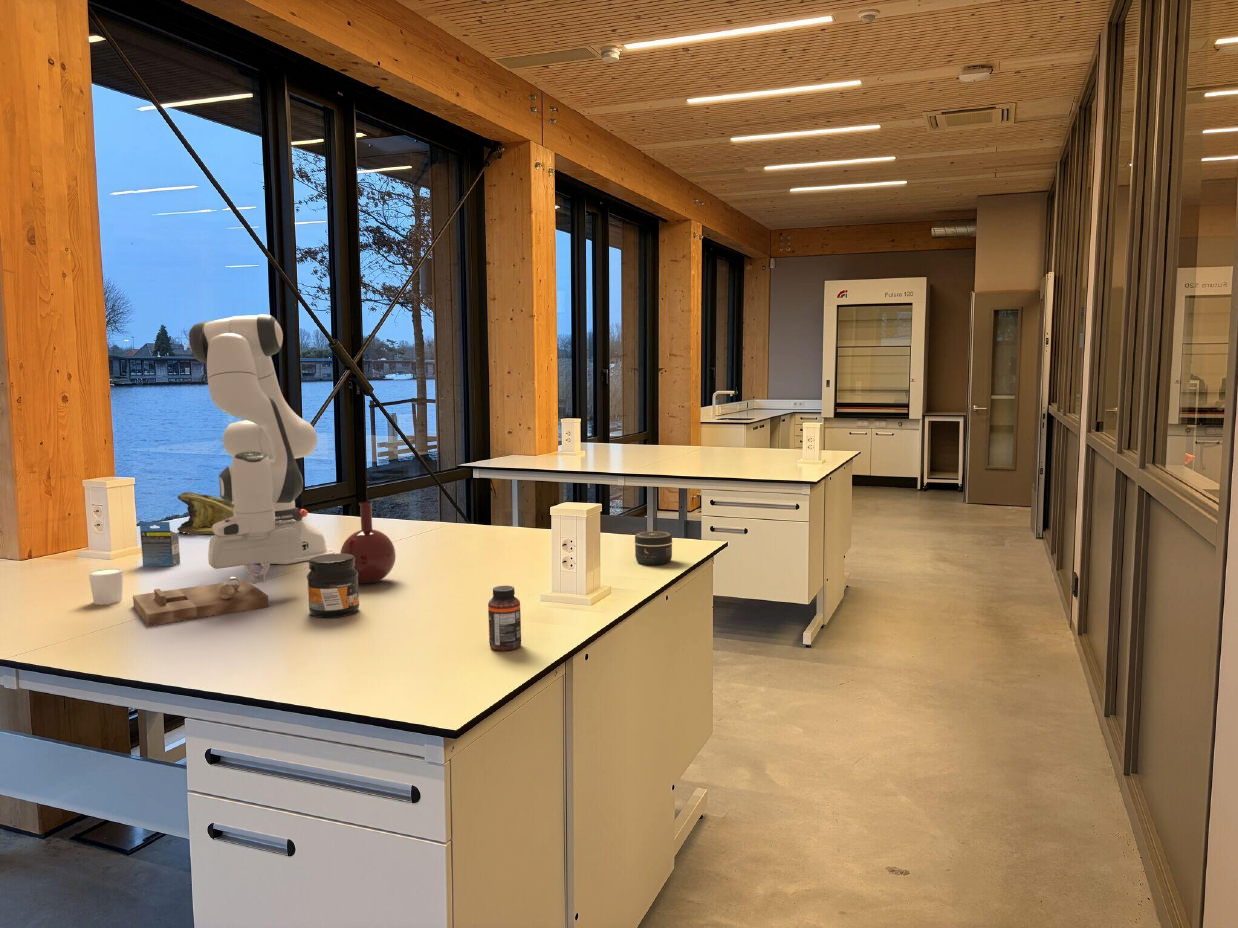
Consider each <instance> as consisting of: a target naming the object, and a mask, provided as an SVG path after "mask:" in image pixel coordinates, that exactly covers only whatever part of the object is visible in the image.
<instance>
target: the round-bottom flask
mask: <svg viewBox="0 0 1238 928" xmlns="http://www.w3.org/2000/svg"><path fill="white" fill-rule="evenodd" d="M358 504H359V506H360V507H359V508H360V530H358V531H355V532H353V533H352V534H351V535H349V536H348V537H347V539H345V541H344V542H343V544H342V545H341V549H340V553H339V554H351V555H353V556H355V566H354V567H355V568H356V569H357V571H358V583H360V584H373V583H376V582H379V581H381V580H383V579H384V578H386V577H387V576H388V575H389V574H390V572H391V571H392V570H393V568H394V565H395V564H396V563H395V562H396V556H397V555H396V548H395V545H394V543H393V542H392V540H391V538H390V537H388V535H386V534H385V533H383V532H382V531H379V530H376V529H373V516H372V515H373V513H372V512H373V511H372V505H373V501H366V500H365V501H360V502H358Z"/></svg>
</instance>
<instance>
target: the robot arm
mask: <svg viewBox="0 0 1238 928" xmlns="http://www.w3.org/2000/svg"><path fill="white" fill-rule="evenodd" d="M278 322H279V321H278V320H277V319H276V318H275V317H274V316H272V315H270V314H263V313H262V314H259V313H258V314H257V315H235V316H234V315H233V316H231V317H226V318H220V319H215V320H211V321H206V320H204V321H201V322H198V323H195V324H193V325H192V327H191V328H190V330H189V332H188V346H189V349H190V351H191V353H192V356H193V358H195V359H196V360H197V361H198V362H201V363H202V364H205V365H206V374H207V375H206V376H207V385H208V390H209V396H210V399H211V401H212V403H213V404H214V405H215V406H216V408H218V409H219V410H220V411H222V412H224V413H226V414H228V415H229V416H232V417H235V418H239V419H242V420H239V421H236V422H232V423H229V424H228V425H227V426H226V428H225V430H224V431H223V435H222V444H223V448H224V450H225V451H226V453H227V454H228V455H229V456H230V457H232V462H231V465H229V466H227V467H225V468H224V469H223V470H222V471H221V472H220V474H218V478H219V498H222V499H223V500H225V501H226V502H227V503H229V504H233V505H234V509H233V516H232V517H230V518H228V519H225V520H223V521H220V522H218V523H215V524H214V525H213V526H212V531H213V533H214V535H211V537H210V540H209V543H208V544H209V545H208V553H207V554H208V555H207V557H208V558H207V559H208V564H209V565H210V567H212V568H213V569H214V570H218V569H226V568H227V569H228V568H234V567H242V566H244V569H245V570H246V572H247V573H248V575H249V576H250V583H251V584H258V583H265V582H266V578H267V577H266V575H267V573H268V571H269V570H270V567H271V565H272V564H273V565H275V564H277V565H290V564H295V563H300V562H307V561H309V559H310V558H312V557H315V556H320V555H326V554H336V553H335V550H334V548H331V547H330V546H329V547H328V546H327V543H326V540H325V536H324V534H323V533H322V531H320V530H319V529H317V528H316V527H315V526H313V525H311V524H310V523H309V522H307V521H305V520H304V519H303V518H305V517H308V515H309V512H308V511H307V510H306V509H304V508H299V507H296V501H295V500H296V499H297V498H298V497H299V495H301V493H302V492H303V489H304V488H303V486H304V485H303V484H304V483H303V482H304V480H303V476H302V473H301V471H300V467H299V465H298V463H297V461H296V459H301V458H305V457H308V456H310V455H312V454H313V452H314V450H315V449H316V447H317V443H318V436H317V432H316V430H315V428H314V427H313V425H312V424H311V423H310V422H308V421H306V420H305V419H303V418H301V417H300V416H299V415H298V414H296V412H295V411H294V410H293V409H292V408H291V407H290V406H289V404H288V402H287V401H286V399H285V398H284V396H283V393H282V391H281V388H280V385H279V381H278V378H277V374H276V370H275V366H274V361H273V359H272V357H271V356H273V355H276V354H277V353H279V351H280V350H281V349H282V346H283V340H284V337H283V336H284V333H283V330H282V328H281V325H280V324H279V323H278ZM257 564H260V565H261V567H262V569H261V571H260V573H254V572H253V569H254V565H257Z"/></svg>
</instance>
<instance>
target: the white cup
mask: <svg viewBox="0 0 1238 928" xmlns="http://www.w3.org/2000/svg"><path fill="white" fill-rule="evenodd" d="M123 577H124V571H123V569H121V568H106V569H99V570H95V571H91V572H89V573H88V578H89V584H90V585H89V586H90V590H91V595H92V600H93V604H94V605H97V604H99V606H100V605H102V606H103V604H105V605H111V604H112V605H113V604H117V603H119V602H122V601H123V581H124V580H123Z"/></svg>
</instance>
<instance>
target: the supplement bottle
mask: <svg viewBox="0 0 1238 928" xmlns="http://www.w3.org/2000/svg"><path fill="white" fill-rule="evenodd" d="M515 594H516V592H515V587H514V586H512V585H497V586H495V587H493V588H492V597H491V599H489V601H488V603H487V609H488V616H487V617H488V638H489V639H488V640H489V641H488V643H489V647H490V648H491V649H492V650H494V651H499V652H506V651H507V652H509V651H514V650H516V649H519V648H520V647H521V645H522V622H521V621H522V620H521V618H522V617H521V601H520V599H519V598H518V597H515Z"/></svg>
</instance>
